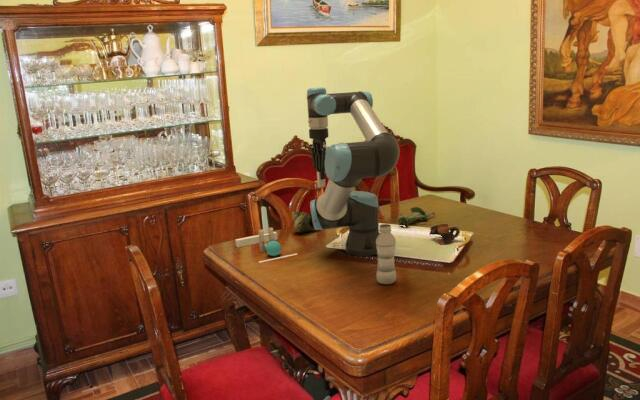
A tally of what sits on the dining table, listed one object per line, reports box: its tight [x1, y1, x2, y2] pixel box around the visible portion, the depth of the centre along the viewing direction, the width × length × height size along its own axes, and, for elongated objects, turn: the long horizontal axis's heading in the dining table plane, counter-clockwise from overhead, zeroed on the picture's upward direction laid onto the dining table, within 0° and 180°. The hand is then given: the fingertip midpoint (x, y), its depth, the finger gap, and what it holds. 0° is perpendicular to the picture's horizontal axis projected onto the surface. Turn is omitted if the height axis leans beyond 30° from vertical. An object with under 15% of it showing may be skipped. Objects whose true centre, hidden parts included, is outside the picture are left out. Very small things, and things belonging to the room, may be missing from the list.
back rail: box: [234, 231, 278, 248], centre depth 236 cm, size 18×2×3 cm, turn 117°
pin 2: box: [267, 227, 275, 243], centre depth 226 cm, size 2×2×9 cm
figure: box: [397, 206, 436, 227], centre depth 253 cm, size 16×7×25 cm
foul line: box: [258, 252, 298, 264], centre depth 216 cm, size 16×1×1 cm, turn 117°
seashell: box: [291, 211, 317, 234], centre depth 246 cm, size 11×11×10 cm
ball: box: [265, 240, 282, 257], centre depth 219 cm, size 6×6×6 cm
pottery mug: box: [429, 223, 461, 245], centre depth 226 cm, size 12×10×8 cm
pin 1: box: [258, 228, 266, 253], centre depth 224 cm, size 2×2×9 cm
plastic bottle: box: [375, 223, 397, 285], centre depth 185 cm, size 6×7×20 cm
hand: (321, 186), depth 224 cm, fingers closed
